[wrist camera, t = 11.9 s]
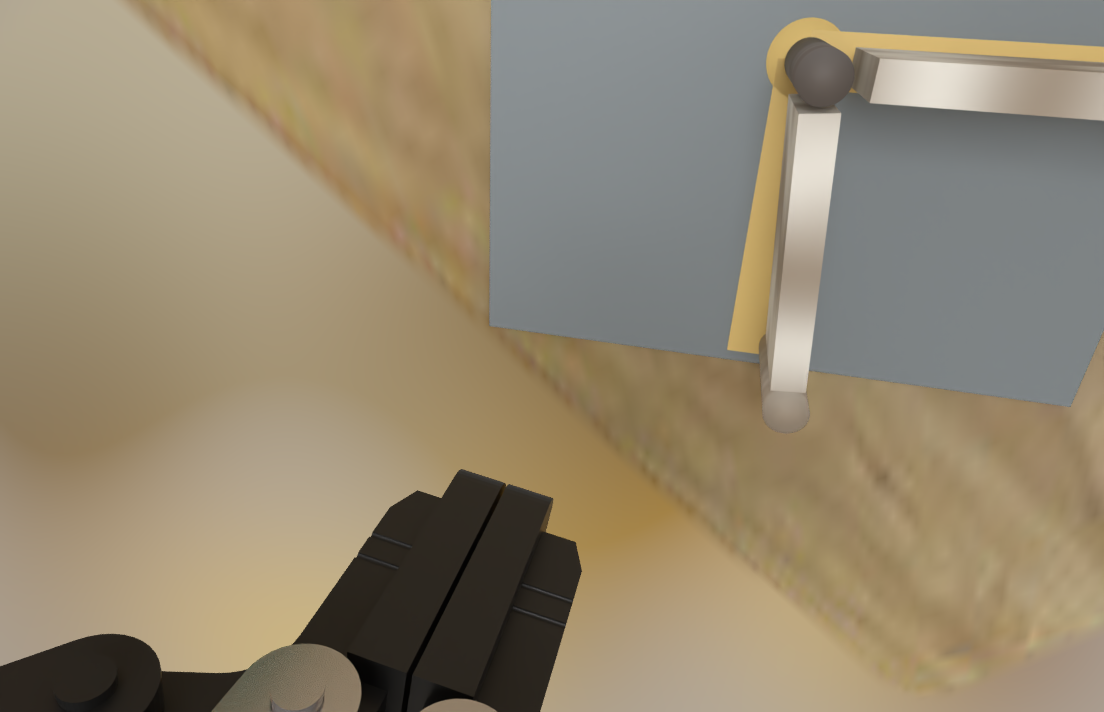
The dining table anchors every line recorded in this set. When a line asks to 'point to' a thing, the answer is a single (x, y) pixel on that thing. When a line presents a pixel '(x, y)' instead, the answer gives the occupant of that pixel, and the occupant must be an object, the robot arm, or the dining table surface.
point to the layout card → (754, 182)
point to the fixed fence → (980, 82)
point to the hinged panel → (801, 227)
